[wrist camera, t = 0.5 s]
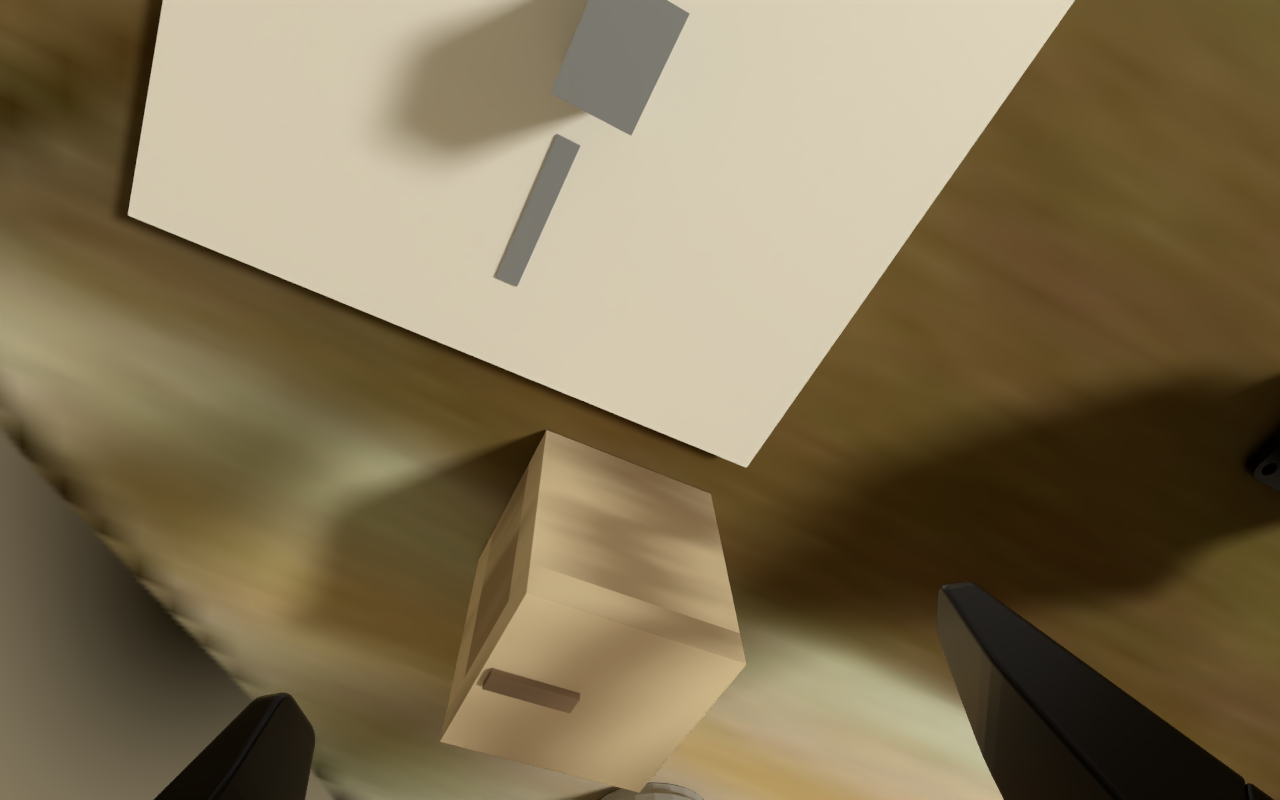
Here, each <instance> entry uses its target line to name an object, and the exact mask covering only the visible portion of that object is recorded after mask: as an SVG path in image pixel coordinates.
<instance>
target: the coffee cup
mask: <svg viewBox="0 0 1280 800" xmlns="http://www.w3.org/2000/svg"><path fill="white" fill-rule="evenodd" d="M601 800H703V799H702V798H701V797H700V796H699V795H698V794H696V793H695V792H692V791H690V790H688V789H686V788H684V787H680V786H675V785H671V784H662V783H647V784H646V785H645V786H644V788H643V789H642V790H641V791H640V792H639V793H638V792H635V791H631V790H627V789H623V788H621V789H618V790H616V791H614V792H612V793H610V794H607V795H606V796H605V797H603V798H602V799H601Z"/></svg>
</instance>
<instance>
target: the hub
mask: <svg viewBox="0 0 1280 800" xmlns="http://www.w3.org/2000/svg"><path fill="white" fill-rule="evenodd" d="M1074 1H1075V0H163V3H162V9H161V15H160V21H159V27H158V33H157V39H156V45H155V51H154V58H153V64H152V70H151V76H150V82H149V88H148V94H147V100H146V106H145V112H144V118H143V125H142V131H141V137H140V143H139V149H138V155H137V161H136V167H135V173H134V179H133V185H132V192H131V198H130V204H129V210H128V216H131V217H133V218H136V219H138V220H140V221H143V222H145V223H148V224H150V225H153V226H155V227H158V228H160V229H162V230H165V231H167V232H170V233H172V234H175V235H177V236H180V237H182V238H185V239H187V240H189V241H192V242H194V243H197V244H199V245H202V246H204V247H207V248H209V249H211V250H214V251H216V252H219V253H221V254H224V255H226V256H229V257H231V258H234V259H236V260H238V261H241V262H243V263H246V264H248V265H251V266H253V267H256V268H258V269H261V270H263V271H265V272H268V273H270V274H273V275H275V276H278V277H280V278H283V279H285V280H287V281H290V282H292V283H295V284H297V285H300V286H302V287H305V288H307V289H310V290H312V291H314V292H317V293H319V294H322V295H324V296H327V297H329V298H332V299H334V300H337V301H339V302H341V303H344V304H346V305H349V306H351V307H354V308H356V309H359V310H361V311H363V312H366V313H368V314H371V315H373V316H376V317H378V318H381V319H383V320H386V321H388V322H390V323H393V324H395V325H398V326H400V327H403V328H405V329H408V330H410V331H412V332H415V333H417V334H420V335H422V336H425V337H427V338H430V339H432V340H435V341H437V342H439V343H442V344H444V345H447V346H449V347H452V348H454V349H457V350H459V351H462V352H464V353H466V354H469V355H471V356H474V357H476V358H479V359H481V360H484V361H486V362H488V363H491V364H493V365H496V366H498V367H501V368H503V369H506V370H508V371H511V372H513V373H515V374H518V375H520V376H523V377H525V378H528V379H530V380H533V381H535V382H538V383H540V384H542V385H545V386H547V387H550V388H552V389H555V390H557V391H560V392H562V393H564V394H567V395H569V396H572V397H574V398H577V399H579V400H582V401H584V402H587V403H589V404H591V405H594V406H596V407H599V408H601V409H604V410H606V411H609V412H611V413H613V414H616V415H618V416H621V417H623V418H626V419H628V420H631V421H633V422H636V423H638V424H640V425H643V426H645V427H648V428H650V429H653V430H655V431H658V432H660V433H663V434H665V435H667V436H670V437H672V438H675V439H677V440H680V441H682V442H685V443H687V444H689V445H692V446H694V447H697V448H699V449H702V450H704V451H707V452H709V453H712V454H714V455H716V456H719V457H721V458H724V459H726V460H729V461H731V462H734V463H736V464H739V465H741V466H743V467H746V468H747V466H748V465H749V464H750V462H751V461H752V459H753V458H754V456H755V455H756V454H757V452H758V451H759V449H760V448H761V446H762V445H763V444H764V442H765V441H766V439H767V438H768V436H769V435H770V434H771V432H772V431H773V429H774V428H775V427H776V425H777V424H778V422H779V421H780V419H781V418H782V417H783V415H784V414H785V412H786V411H787V409H788V408H789V407H790V405H791V404H792V402H793V401H794V399H795V398H796V397H797V395H798V394H799V392H800V391H801V389H802V388H803V387H804V385H805V384H806V382H807V381H808V380H809V378H810V377H811V375H812V374H813V372H814V371H815V370H816V368H817V367H818V365H819V364H820V362H821V361H822V360H823V358H824V357H825V355H826V354H827V352H828V351H829V350H830V348H831V347H832V345H833V344H834V342H835V341H836V340H837V338H838V337H839V335H840V334H841V333H842V331H843V330H844V328H845V327H846V325H847V324H848V323H849V321H850V320H851V318H852V317H853V315H854V314H855V313H856V311H857V310H858V308H859V307H860V305H861V304H862V303H863V301H864V300H865V298H866V297H867V295H868V294H869V293H870V291H871V290H872V288H873V287H874V286H875V284H876V283H877V281H878V280H879V278H880V277H881V276H882V274H883V273H884V271H885V270H886V268H887V267H888V266H889V264H890V263H891V261H892V260H893V258H894V257H895V256H896V254H897V253H898V251H899V250H900V248H901V247H902V246H903V244H904V243H905V241H906V240H907V239H908V237H909V236H910V234H911V233H912V231H913V230H914V229H915V227H916V226H917V224H918V223H919V221H920V220H921V219H922V217H923V216H924V214H925V213H926V211H927V210H928V209H929V207H930V206H931V204H932V203H933V201H934V200H935V199H936V197H937V196H938V194H939V193H940V192H941V190H942V189H943V187H944V186H945V184H946V183H947V182H948V180H949V179H950V177H951V176H952V174H953V173H954V172H955V170H956V169H957V167H958V166H959V164H960V163H961V162H962V160H963V159H964V157H965V156H966V155H967V153H968V152H969V150H970V149H971V147H972V146H973V145H974V143H975V142H976V140H977V139H978V137H979V136H980V135H981V133H982V132H983V130H984V129H985V127H986V126H987V125H988V123H989V122H990V120H991V119H992V117H993V116H994V115H995V113H996V112H997V110H998V109H999V108H1000V106H1001V105H1002V103H1003V102H1004V100H1005V99H1006V98H1007V96H1008V95H1009V93H1010V92H1011V90H1012V89H1013V88H1014V86H1015V85H1016V83H1017V82H1018V80H1019V79H1020V78H1021V76H1022V75H1023V73H1024V72H1025V70H1026V69H1027V68H1028V66H1029V65H1030V63H1031V62H1032V61H1033V59H1034V58H1035V56H1036V55H1037V53H1038V52H1039V51H1040V49H1041V48H1042V46H1043V45H1044V43H1045V42H1046V41H1047V39H1048V38H1049V36H1050V35H1051V33H1052V32H1053V31H1054V29H1055V28H1056V26H1057V25H1058V23H1059V22H1060V21H1061V19H1062V18H1063V16H1064V15H1065V14H1066V12H1067V11H1068V9H1069V8H1070V6H1071V5H1072V4H1073V2H1074Z"/></svg>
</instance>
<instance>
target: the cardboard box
mask: <svg viewBox="0 0 1280 800" xmlns="http://www.w3.org/2000/svg"><path fill="white" fill-rule="evenodd" d="M746 665H747V664H746V659H745V654H744V650H743V645H742V640H741V635H740V631H739V626H738V621H737V616H736V612H735V607H734V602H733V598H732V593H731V588H730V583H729V579H728V574H727V569H726V564H725V560H724V555H723V550H722V545H721V541H720V536H719V531H718V526H717V522H716V517H715V512H714V507H713V503H712V498H711V494H709V493H707V492H704V491H702V490H699V489H697V488H694V487H691V486H689V485H686V484H684V483H681V482H679V481H676V480H673V479H671V478H668V477H666V476H663V475H661V474H658V473H656V472H653V471H650V470H648V469H645V468H643V467H640V466H638V465H635V464H632V463H630V462H627V461H625V460H622V459H620V458H617V457H615V456H612V455H609V454H607V453H604V452H602V451H599V450H597V449H594V448H592V447H589V446H586V445H584V444H581V443H579V442H576V441H574V440H571V439H568V438H566V437H563V436H561V435H558V434H556V433H553V432H551V431H548V430H546V432H545V434H544V436H543V438H542V439H541V441H540V443H539V445H538V447H537V449H536V451H535V453H534V455H533V457H532V459H531V461H530V462H529V464H528V466H527V468H526V470H525V472H524V474H523V476H522V478H521V480H520V482H519V483H518V485H517V487H516V489H515V491H514V493H513V495H512V497H511V499H510V501H509V503H508V504H507V506H506V508H505V510H504V512H503V514H502V516H501V518H500V520H499V522H498V524H497V526H496V527H495V529H494V531H493V533H492V535H491V537H490V539H489V541H488V543H487V545H486V547H485V548H484V550H483V552H482V554H481V556H480V558H479V560H478V565H477V570H476V574H475V579H474V584H473V588H472V593H471V598H470V603H469V607H468V612H467V617H466V621H465V626H464V631H463V635H462V640H461V645H460V650H459V654H458V659H457V664H456V668H455V673H454V678H453V682H452V687H451V692H450V697H449V701H448V706H447V711H446V715H445V720H444V725H443V730H442V734H441V739H440V742H443V743H447V744H451V745H454V746H458V747H462V748H466V749H470V750H474V751H478V752H482V753H486V754H490V755H494V756H498V757H501V758H505V759H509V760H513V761H517V762H521V763H525V764H529V765H533V766H537V767H541V768H545V769H548V770H552V771H556V772H560V773H564V774H568V775H572V776H576V777H580V778H584V779H588V780H592V781H595V782H599V783H603V784H607V785H611V786H615V787H619V788H623V789H627V790H631V791H635V792H638V793H639V792H640V791H641V790H642V789H643V788H644V786H645V785H646V784H647V783H648V782H649V781H650V779H651V778H652V777H653V776H654V775H655V773H656V772H657V771H658V770H659V769H660V767H661V766H662V765H663V764H664V763H665V761H666V760H667V759H668V758H669V757H670V755H671V754H672V753H673V752H674V751H675V749H676V748H677V747H678V746H679V745H680V743H681V742H682V741H683V740H684V739H685V737H686V736H687V735H688V734H689V733H690V731H691V730H692V729H693V728H694V727H695V726H696V724H697V723H698V722H699V721H700V720H701V718H702V717H703V716H704V715H705V714H706V712H707V711H708V710H709V709H710V708H711V706H712V705H713V704H714V703H715V702H716V700H717V699H718V698H719V697H720V696H721V694H722V693H723V692H724V691H725V690H726V688H727V687H728V686H729V685H730V684H731V682H732V681H733V680H734V679H735V678H736V676H737V675H738V674H739V673H740V672H741V670H742V669H743V668H744V667H745V666H746Z"/></svg>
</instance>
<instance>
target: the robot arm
mask: <svg viewBox="0 0 1280 800" xmlns="http://www.w3.org/2000/svg"><path fill="white" fill-rule="evenodd" d="M1245 471H1246V472H1247V473H1248V474H1250V475H1251V476H1252V477H1254V478H1255V479H1256V480H1258V481H1260V482H1262V483H1264V484H1266V485H1267V486H1269V487H1271V488H1273V489H1275V490H1277V491H1279V492H1280V431H1279V432H1278V433H1277V434H1275V435H1274V436H1273V437H1272V438H1271V439H1270V440H1269V441H1268V442H1267V443H1265V444H1264V445H1263V446H1262V447H1261V448H1260V449H1259V450H1258V451H1257V452H1256V453H1254V454H1253V455H1252V456H1251V457H1250V458H1249V459H1248V461H1247V462H1246V464H1245ZM937 631H938V637H939V641H940V644H941V647H942V650H943V653H944V655H945V658H946V661H947V663H948V666H949V669H950V671H951V674H952V676H953V679H954V682H955V684H956V687H957V690H958V692H959V695H960V698H961V700H962V703H963V706H964V708H965V711H966V714H967V716H968V719H969V722H970V724H971V727H972V730H973V732H974V735H975V738H976V740H977V743H978V745H979V748H980V750H981V753H982V755H983V758H984V760H985V762H986V764H987V766H988V768H989V771H990V773H991V775H992V777H993V779H994V781H995V783H996V785H997V787H998V789H999V791H1000V793H1001V795H1002V797H1003V799H1004V800H1274V799H1272V798H1271V797H1270V796H1268V795H1267V794H1265V793H1264V792H1263V791H1261V790H1260V789H1258V788H1257V787H1256V786H1254V785H1253V784H1250V783H1248V784H1246V785H1245V781H1244V779H1243V777H1242V776H1240V775H1239V774H1237V773H1236V772H1235V771H1233V770H1232V769H1231V768H1229V767H1228V766H1226V765H1225V764H1224V763H1222V762H1221V761H1219V760H1218V759H1217V758H1215V757H1214V756H1213V755H1211V754H1210V753H1208V752H1207V751H1206V750H1204V749H1203V748H1202V747H1200V746H1199V745H1197V744H1196V743H1195V742H1193V741H1192V740H1191V739H1189V738H1188V737H1186V736H1185V735H1184V734H1182V733H1181V732H1180V731H1178V730H1177V729H1175V728H1174V727H1173V726H1171V725H1170V724H1169V723H1167V722H1166V721H1164V720H1163V719H1162V718H1160V717H1159V716H1158V715H1156V714H1155V713H1153V712H1152V711H1151V710H1149V709H1148V708H1146V707H1145V706H1144V705H1142V704H1141V703H1140V702H1138V701H1137V700H1135V699H1134V698H1133V697H1131V696H1130V695H1129V694H1127V693H1126V692H1124V691H1123V690H1122V689H1120V688H1119V687H1118V686H1116V685H1115V684H1113V683H1112V682H1111V681H1109V680H1108V679H1107V678H1105V677H1104V676H1102V675H1101V674H1100V673H1098V672H1097V671H1096V670H1094V669H1093V668H1091V667H1090V666H1089V665H1087V664H1086V663H1085V662H1083V661H1082V660H1080V659H1079V658H1078V657H1076V656H1075V655H1073V654H1072V653H1071V652H1069V651H1068V650H1067V649H1065V648H1064V647H1062V646H1061V645H1060V644H1058V643H1057V642H1056V641H1054V640H1053V639H1051V638H1050V637H1049V636H1047V635H1046V634H1045V633H1043V632H1042V631H1040V630H1039V629H1038V628H1036V627H1035V626H1034V625H1032V624H1031V623H1029V622H1028V621H1027V620H1025V619H1024V618H1023V617H1021V616H1020V615H1018V614H1017V613H1016V612H1014V611H1013V610H1012V609H1010V608H1009V607H1007V606H1006V605H1005V604H1003V603H1002V602H1001V601H999V600H998V599H996V598H995V597H994V596H992V595H991V594H989V593H988V592H987V591H985V590H984V589H983V588H981V587H980V586H978V585H977V584H975V583H973V582H970V581H964V582H958V583H951V584H945V585H943V586H941V587H940V589H939V592H938V614H937ZM314 746H315V734H314V730H313V727H312V725H311V723H310V722H309V720H308V719H307V717H306V716H305V715H304V713H303V712H302V710H301V709H300V707H299V706H298V704H297V703H296V701H295V700H294V698H293V697H292V696H291V695H290V694H287V693H277V694H271V695H264V696H261V697H258V698H256V699H255V700H253V701H252V702H251V703H250V704H249V705H248V706H247V707H246V708H245V709H244V710H243V711H242V712H241V713H240V714H239V715H238V716H237V717H236V718H235V719H234V720H233V721H232V722H231V723H230V724H229V725H228V726H227V727H226V728H225V729H224V730H223V731H222V732H221V733H220V734H219V735H218V736H217V737H216V738H215V739H214V740H213V741H212V742H211V743H210V744H209V745H208V746H207V747H206V748H205V749H204V750H203V751H202V752H201V753H200V754H199V755H198V756H197V757H196V758H195V759H194V760H193V761H192V762H191V763H190V764H189V765H188V766H187V767H186V768H185V769H184V770H183V771H182V772H181V773H180V774H179V775H178V776H177V777H176V778H175V779H174V780H173V781H172V782H171V783H170V784H169V785H168V786H167V787H166V788H165V789H164V790H163V791H162V792H161V793H160V794H159V795H158V796H157V797H156V798H155V799H154V800H305V797H306V791H307V785H308V780H309V774H310V769H311V763H312V758H313V752H314Z"/></svg>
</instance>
